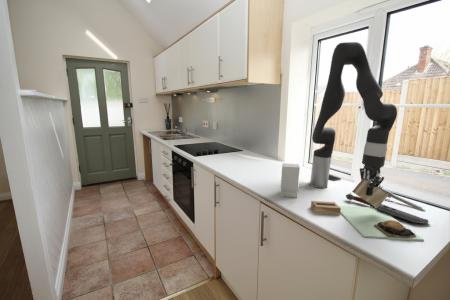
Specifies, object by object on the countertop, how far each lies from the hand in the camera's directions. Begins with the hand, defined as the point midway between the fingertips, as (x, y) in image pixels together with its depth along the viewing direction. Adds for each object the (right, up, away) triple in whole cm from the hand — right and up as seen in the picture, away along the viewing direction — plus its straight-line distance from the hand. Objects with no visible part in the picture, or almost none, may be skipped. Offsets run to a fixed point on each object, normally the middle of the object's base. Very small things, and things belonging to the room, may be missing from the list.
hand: (367, 194), depth 92 cm
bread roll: (+2, -11, -12) cm, 16 cm away
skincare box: (-27, -4, +20) cm, 34 cm away
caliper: (+25, -8, +15) cm, 30 cm away
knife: (+10, -8, +6) cm, 14 cm away
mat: (-1, -10, -4) cm, 11 cm away
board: (+6, -3, 0) cm, 7 cm away
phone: (+7, 0, +53) cm, 53 cm away
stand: (-16, -8, +3) cm, 18 cm away
